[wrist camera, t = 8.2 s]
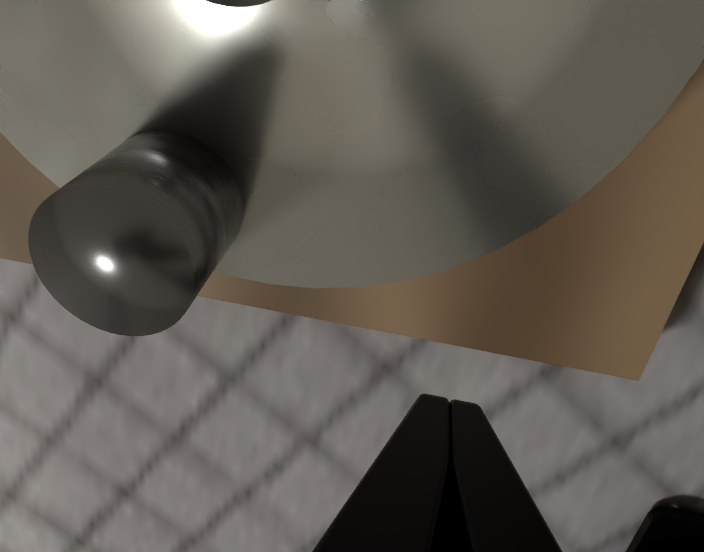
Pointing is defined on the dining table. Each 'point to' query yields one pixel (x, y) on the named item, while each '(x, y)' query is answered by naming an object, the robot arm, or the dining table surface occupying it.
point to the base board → (510, 263)
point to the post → (238, 2)
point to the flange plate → (316, 134)
